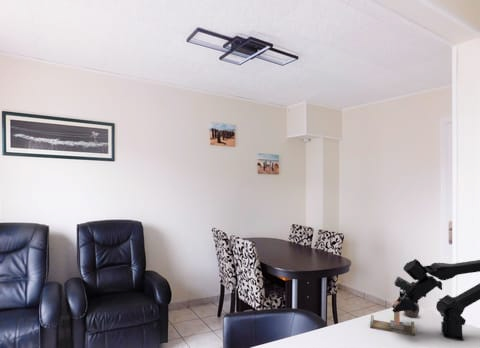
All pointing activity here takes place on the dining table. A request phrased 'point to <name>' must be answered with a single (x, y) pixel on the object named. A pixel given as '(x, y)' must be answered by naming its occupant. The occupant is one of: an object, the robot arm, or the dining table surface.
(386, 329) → the fader track
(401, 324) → the fader
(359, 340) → the dining table surface
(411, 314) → the vase
